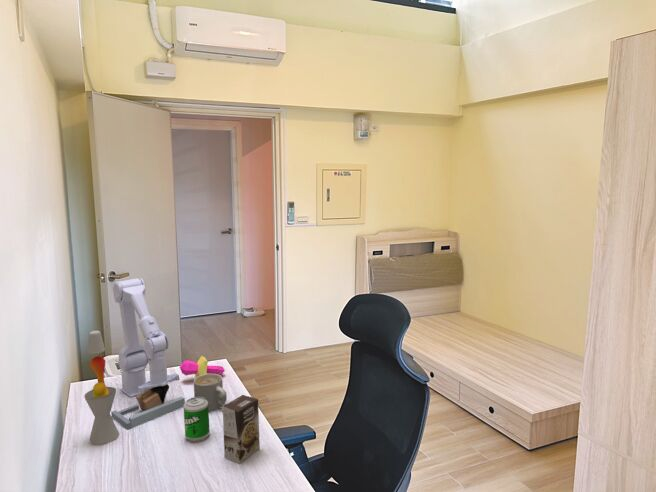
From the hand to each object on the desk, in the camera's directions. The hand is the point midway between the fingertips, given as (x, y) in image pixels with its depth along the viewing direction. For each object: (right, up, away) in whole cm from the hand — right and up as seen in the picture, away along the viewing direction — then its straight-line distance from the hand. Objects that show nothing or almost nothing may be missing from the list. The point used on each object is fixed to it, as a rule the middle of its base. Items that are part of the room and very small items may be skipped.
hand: (160, 404), depth 170 cm
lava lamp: (-11, -4, -19) cm, 22 cm away
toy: (+9, +2, +23) cm, 25 cm away
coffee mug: (+18, -1, 0) cm, 18 cm away
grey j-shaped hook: (-3, -1, -2) cm, 4 cm away
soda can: (+18, -4, -19) cm, 27 cm away
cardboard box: (-2, -1, -2) cm, 3 cm away
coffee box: (+34, -5, -28) cm, 45 cm away
